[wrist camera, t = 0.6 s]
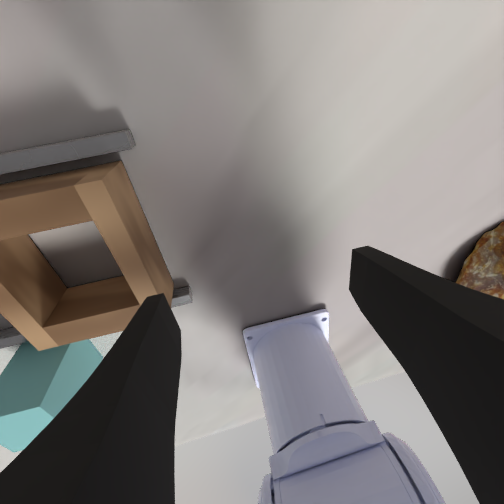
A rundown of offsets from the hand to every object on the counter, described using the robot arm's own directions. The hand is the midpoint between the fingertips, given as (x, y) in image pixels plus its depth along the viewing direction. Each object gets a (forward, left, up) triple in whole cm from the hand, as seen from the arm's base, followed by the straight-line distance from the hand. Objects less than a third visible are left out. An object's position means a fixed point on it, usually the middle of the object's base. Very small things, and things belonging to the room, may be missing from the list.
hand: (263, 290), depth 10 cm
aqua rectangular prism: (-9, +16, -8) cm, 20 cm away
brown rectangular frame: (0, +10, -8) cm, 13 cm away
